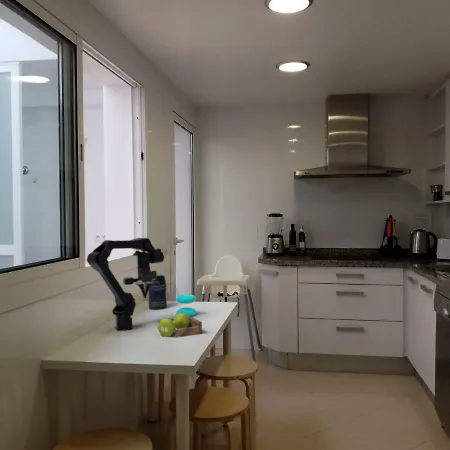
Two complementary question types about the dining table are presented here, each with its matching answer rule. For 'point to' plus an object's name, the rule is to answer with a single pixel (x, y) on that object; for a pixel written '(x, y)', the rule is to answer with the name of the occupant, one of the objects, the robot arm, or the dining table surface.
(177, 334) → the walnut corral
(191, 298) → the donuts
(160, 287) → the storage jar
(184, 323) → the dumbbell
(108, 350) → the dining table surface
